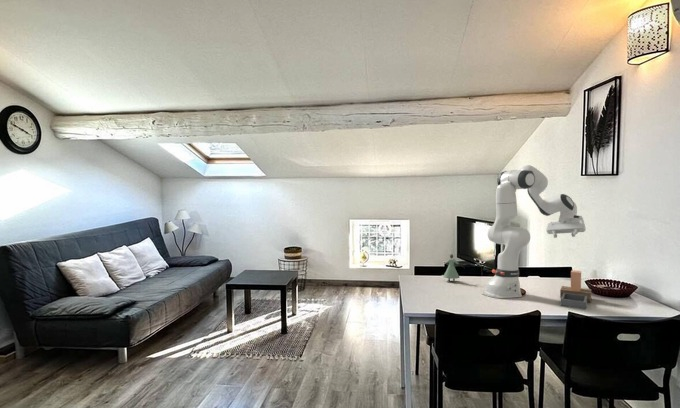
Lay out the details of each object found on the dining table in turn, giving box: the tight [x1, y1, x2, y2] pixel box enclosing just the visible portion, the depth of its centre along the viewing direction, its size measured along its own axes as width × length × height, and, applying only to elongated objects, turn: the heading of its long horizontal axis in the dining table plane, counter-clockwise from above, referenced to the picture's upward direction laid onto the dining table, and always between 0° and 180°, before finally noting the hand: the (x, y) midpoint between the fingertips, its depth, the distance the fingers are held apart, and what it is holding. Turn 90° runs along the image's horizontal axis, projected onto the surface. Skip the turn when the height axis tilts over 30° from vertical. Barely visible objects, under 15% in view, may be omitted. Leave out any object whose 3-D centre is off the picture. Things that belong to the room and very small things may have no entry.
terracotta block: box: [570, 269, 582, 291], centre depth 213 cm, size 6×4×10 cm
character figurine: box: [441, 254, 464, 282], centre depth 254 cm, size 16×8×18 cm, turn 80°
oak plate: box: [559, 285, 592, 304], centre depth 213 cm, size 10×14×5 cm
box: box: [560, 293, 588, 310], centre depth 202 cm, size 15×11×4 cm
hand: (564, 236), depth 226 cm, fingers open, 8 cm apart
